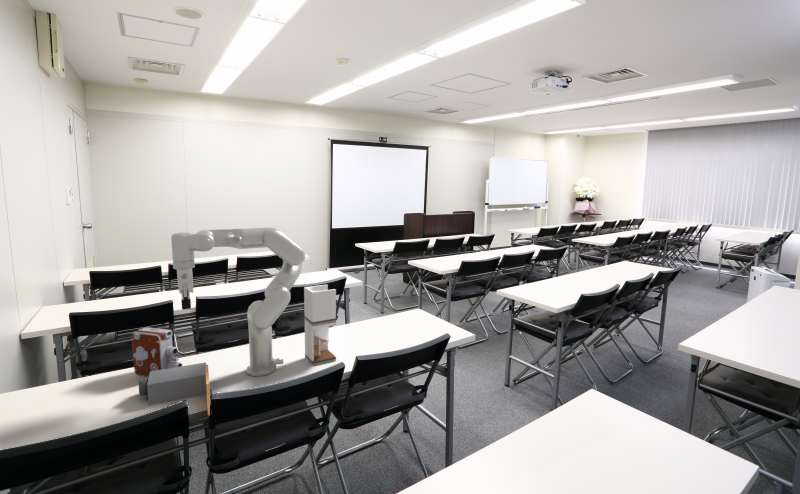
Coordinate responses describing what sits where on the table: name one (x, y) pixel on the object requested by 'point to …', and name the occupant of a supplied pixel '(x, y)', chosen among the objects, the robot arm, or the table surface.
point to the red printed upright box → (153, 350)
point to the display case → (319, 323)
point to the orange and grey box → (174, 383)
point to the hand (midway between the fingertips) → (186, 308)
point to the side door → (208, 389)
